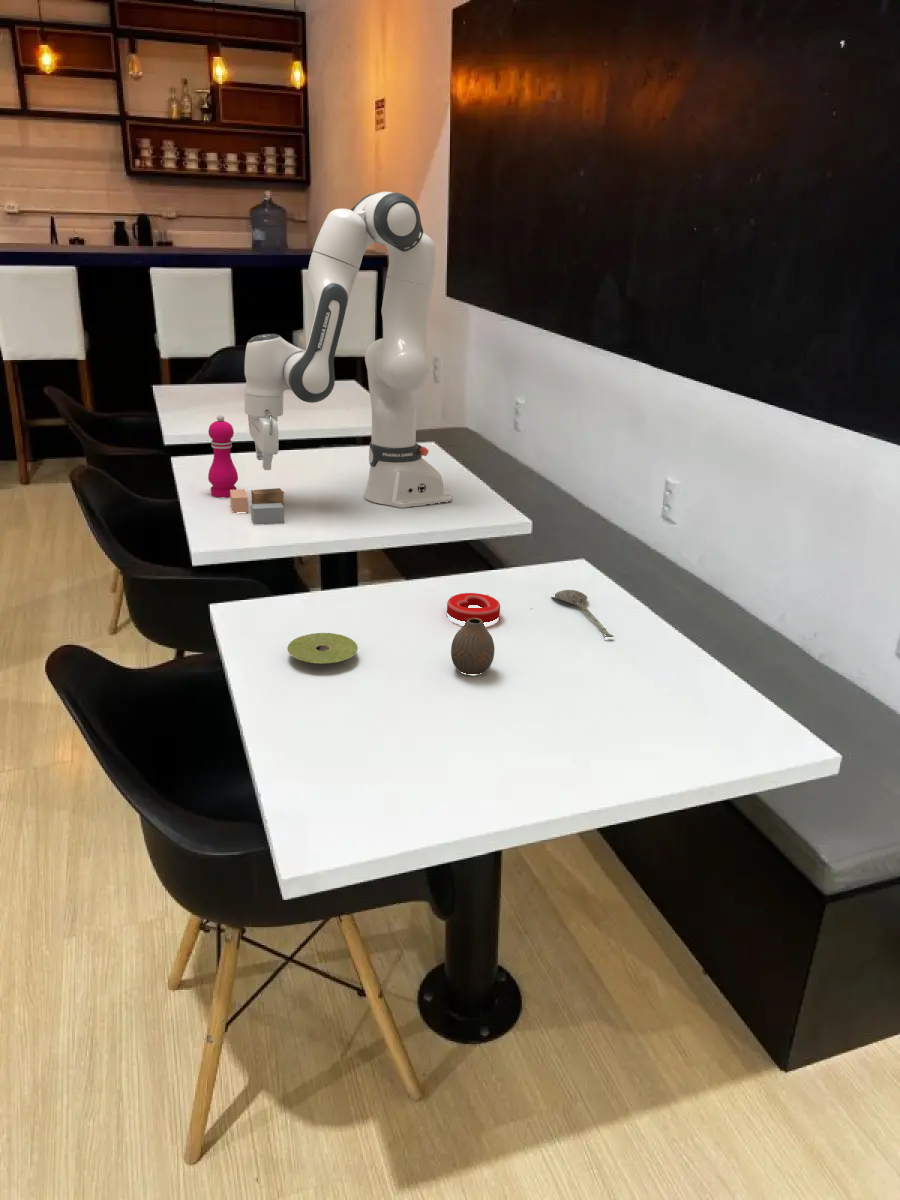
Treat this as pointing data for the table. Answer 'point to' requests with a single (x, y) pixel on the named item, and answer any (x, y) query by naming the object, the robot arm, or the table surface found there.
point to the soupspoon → (579, 604)
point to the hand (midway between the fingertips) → (263, 464)
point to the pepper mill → (222, 459)
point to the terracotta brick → (238, 500)
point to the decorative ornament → (460, 610)
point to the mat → (322, 648)
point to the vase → (472, 648)
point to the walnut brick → (267, 496)
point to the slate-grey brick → (267, 513)
